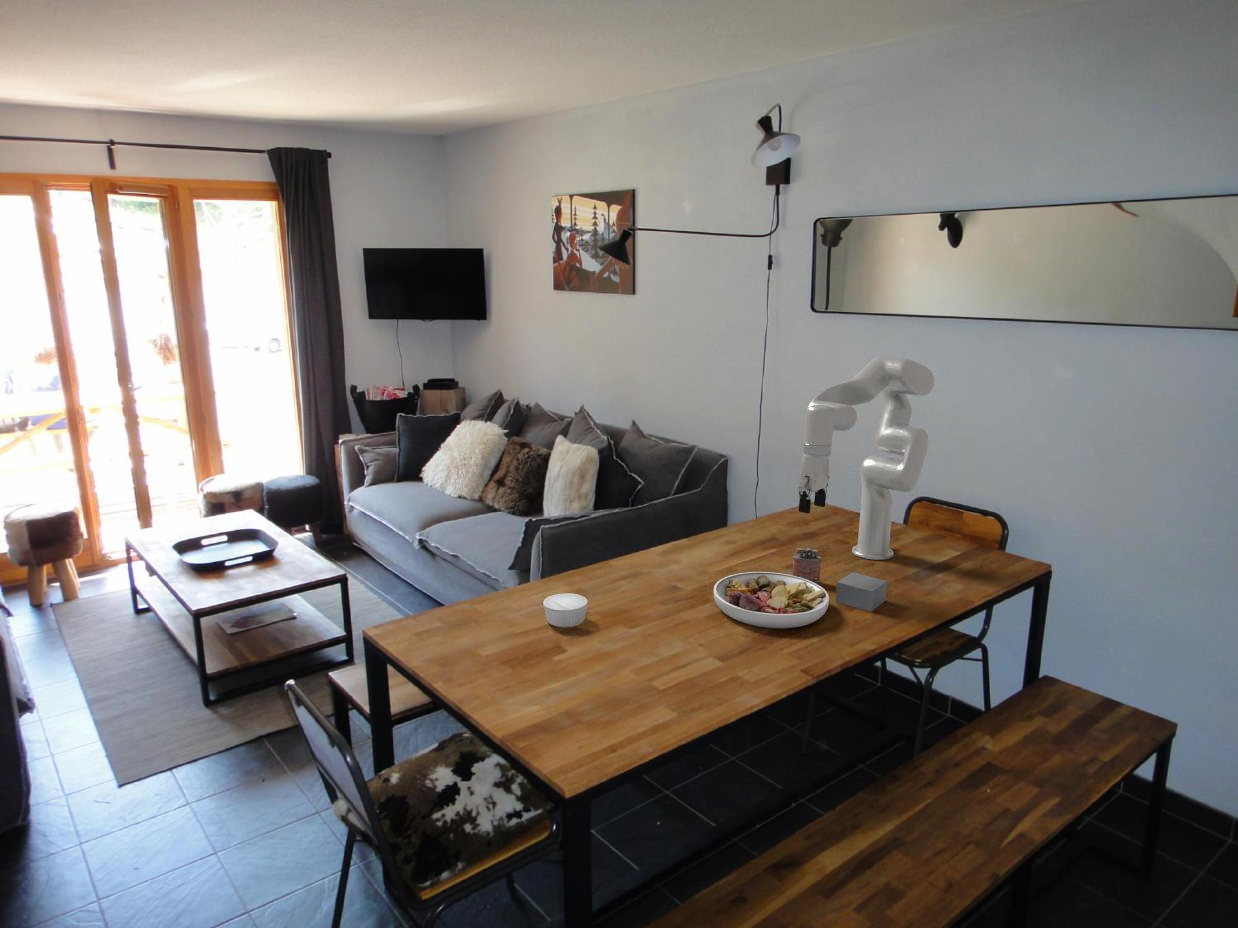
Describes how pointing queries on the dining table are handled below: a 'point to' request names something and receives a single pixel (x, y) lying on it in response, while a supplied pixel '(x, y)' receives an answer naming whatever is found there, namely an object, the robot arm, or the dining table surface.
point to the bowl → (771, 599)
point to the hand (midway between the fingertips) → (811, 509)
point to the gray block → (861, 591)
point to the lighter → (807, 565)
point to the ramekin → (565, 609)
